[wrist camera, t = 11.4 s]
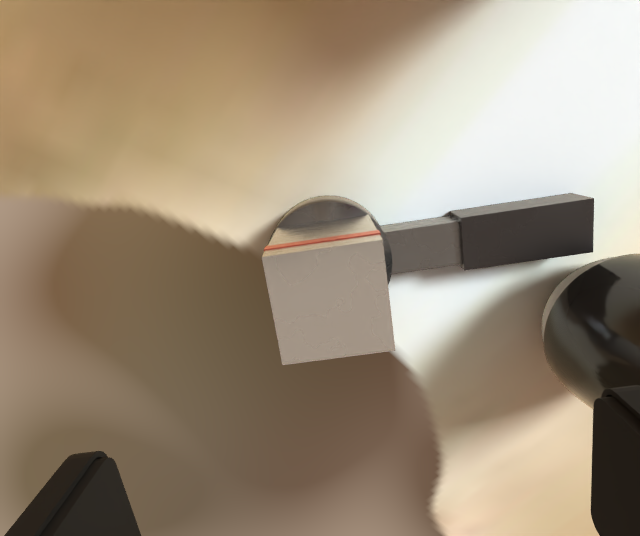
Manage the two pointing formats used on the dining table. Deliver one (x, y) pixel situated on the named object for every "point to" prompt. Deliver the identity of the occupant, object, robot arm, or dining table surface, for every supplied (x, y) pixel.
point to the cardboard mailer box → (329, 290)
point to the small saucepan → (470, 232)
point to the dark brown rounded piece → (595, 327)
